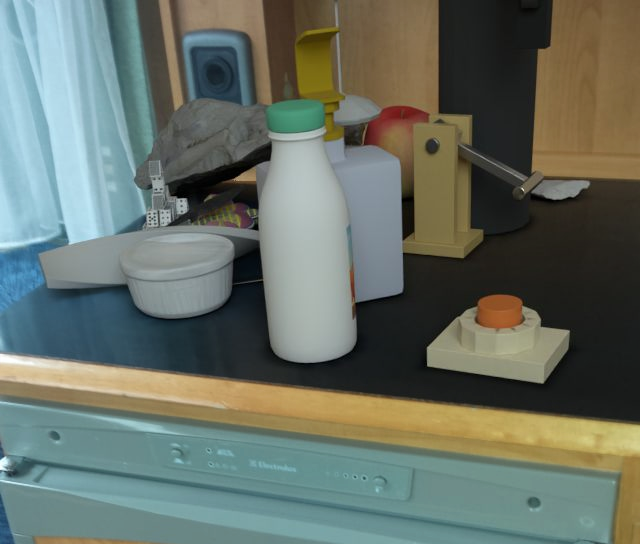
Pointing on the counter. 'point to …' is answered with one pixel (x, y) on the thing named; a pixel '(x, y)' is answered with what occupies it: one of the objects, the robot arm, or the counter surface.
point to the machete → (208, 206)
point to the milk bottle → (305, 240)
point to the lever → (499, 168)
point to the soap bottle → (355, 178)
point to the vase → (489, 100)
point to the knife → (248, 280)
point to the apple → (397, 139)
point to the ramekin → (179, 274)
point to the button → (499, 311)
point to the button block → (499, 348)
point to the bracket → (442, 189)
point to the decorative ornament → (229, 216)
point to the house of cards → (163, 201)
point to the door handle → (103, 255)
